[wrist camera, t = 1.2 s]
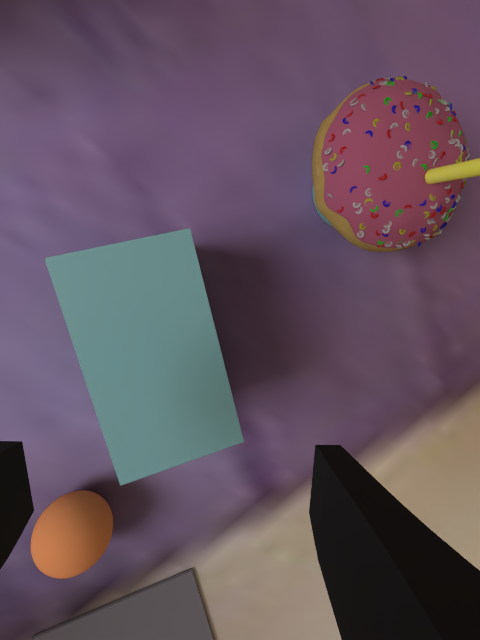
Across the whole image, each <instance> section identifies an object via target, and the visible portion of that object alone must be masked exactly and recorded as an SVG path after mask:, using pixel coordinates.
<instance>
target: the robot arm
mask: <svg viewBox="0 0 480 640" xmlns="http://www.w3.org/2000/svg"><path fill="white" fill-rule="evenodd" d="M33 511H34V507H33V502H32V496H31V490H30V484H29V479H28V473H27V467H26V462H25V456H24V450H23V444H22V442H14V441H0V569H1V567H2V566H3V564H4V563H5V561H6V560H7V558H8V557H9V555H10V553H11V552H12V550H13V548H14V546H15V545H16V543H17V541H18V539H19V538H20V536H21V534H22V532H23V530H24V528H25V526H26V525H27V523H28V521H29V519H30V517H31V515H32V513H33ZM309 514H310V520H311V525H312V530H313V536H314V541H315V546H316V551H317V556H318V560H319V564H320V567H321V571H322V574H323V578H324V581H325V585H326V588H327V591H328V595H329V598H330V602H331V605H332V608H333V612H334V615H335V618H336V622H337V625H338V629H339V632H340V635H341V639H342V640H480V571H479V570H478V569H477V568H476V567H474V566H473V565H472V564H471V563H469V562H468V561H467V560H466V559H465V558H463V557H462V556H461V555H460V554H459V553H458V552H456V551H455V550H454V549H453V548H452V547H450V546H449V545H448V544H447V543H446V542H444V541H443V540H442V539H441V538H440V537H439V536H437V535H436V534H435V533H434V532H433V531H431V530H430V529H429V528H428V527H427V526H426V525H425V524H424V523H422V522H421V521H420V520H419V519H418V518H417V517H416V516H415V515H413V514H412V513H411V512H410V511H409V510H408V509H407V508H406V507H405V506H403V505H402V504H401V503H400V502H399V501H398V500H397V499H396V498H395V497H394V496H393V495H392V494H391V493H389V492H388V491H387V490H386V489H385V488H384V487H383V486H382V485H381V484H380V483H379V482H378V481H377V480H376V479H375V478H374V477H373V476H372V475H371V474H370V473H369V472H367V471H366V470H365V469H364V468H363V467H362V466H361V465H360V464H359V463H358V462H357V461H356V460H355V459H354V458H353V457H352V456H351V455H350V454H349V453H348V452H347V451H346V450H345V449H344V448H343V447H341V446H340V445H315V456H314V467H313V477H312V488H311V499H310V509H309Z"/></svg>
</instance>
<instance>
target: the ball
mask: <svg viewBox="0 0 480 640" xmlns="http://www.w3.org/2000/svg"><path fill="white" fill-rule="evenodd" d="M112 531H113V515H112V511H111V509H110V506H109V505H108V503H107V502H106V500H105V499H104V498H103V497H101V496H100V495H98V494H96V493H94V492H91V491H84V490H82V491H74V492H70V493H67V494H65V495H63V496H61V497H59V498H58V499H56V500H55V501H54V502H52V503H51V504H50V505H49V506H48V507H47V508H46V509H45V510H44V512H43V513H42V514H41V516H40V517H39V519H38V521H37V523H36V525H35V527H34V530H33V533H32V537H31V554H32V558H33V561H34V563H35V564H36V566H37V567H38V569H39V570H40V571H41V572H43V573H44V574H46V575H48V576H50V577H53V578H59V579H63V578H70V577H73V576H76V575H79V574H81V573H83V572H84V571H86V570H88V569H89V568H90V567H92V566H93V565H94V564H95V563H96V562H97V561H98V560H99V559H100V557H101V556H102V555H103V553H104V552H105V550H106V548H107V546H108V544H109V542H110V539H111V536H112Z"/></svg>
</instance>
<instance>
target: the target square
mask: <svg viewBox="0 0 480 640" xmlns="http://www.w3.org/2000/svg"><path fill="white" fill-rule="evenodd" d="M32 640H214V639H213V635H212V632H211V629H210V626H209V622H208V619H207V616H206V613H205V609H204V606H203V603H202V599H201V596H200V593H199V590H198V586H197V583H196V580H195V577H194V573H193V570H192V568H191V569H189V570H187V571H184V572H182V573H179V574H177V575H175V576H172V577H170V578H168V579H165V580H163V581H161V582H158V583H156V584H154V585H151V586H149V587H147V588H144V589H142V590H140V591H137V592H135V593H132V594H130V595H128V596H125V597H123V598H121V599H118V600H116V601H114V602H111V603H109V604H107V605H104V606H102V607H100V608H97V609H95V610H93V611H90V612H88V613H85V614H83V615H81V616H78V617H76V618H74V619H71V620H69V621H67V622H64V623H62V624H60V625H57V626H55V627H53V628H50V629H48V630H46V631H43V632H41V633H38V634H36V635H34V636H33V639H32Z"/></svg>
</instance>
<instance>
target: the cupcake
mask: <svg viewBox="0 0 480 640" xmlns="http://www.w3.org/2000/svg"><path fill="white" fill-rule="evenodd" d="M389 78H390V79H389ZM404 78H405V79H404ZM451 109H452V104H451V103H447V101H446V100H444V99H443V98H442V97H441V95H440V94H439V93H438V92H437V90H436V88H435V87H434V86H431V87H430V86H429V85H428V83H427V82H425V85H424V84H421V83H418V82H415V81H412V80H408V79H407V77H406V76H405V77H397V78H392V76H389V77H387V78H386V79H383V78H381V79H377V80H376V81H374V82H371V81H370V83H367V84H365V85H363V86H361V87H359V88H357V89H356V90H354V91H353V92H352V93H351V94H350V95H348V96H347V97H346V98H345V99H344V100H343V101H342V102H341V103H340V104H339V105H338V106H337V108H336V109H335V110H334V111H333V112H332V113H331V114H330V115H329V116H328V117H327V118H326V119H325V120H324V121H323V122H322V124H321V125H320V128H319V130H318V132H317V135H316V138H315V142H314V148H313V156H312V172H313V201H314V205H315V207H316V210H317V212H318V214H319V215H320V217H321V218H322V219H323V220H324V221H325V222H326V223H327V224H329V225H330V226H332V227H334V228H335V229H336V230H337V231H338V232H339V233H340V234H341V235H342V236H343V237H344V238H345V239H347V240H348V241H349V242H350V243H352V244H354V245H355V246H357V247H359V248H361V249H364V250H368V251H374V252H387V251H396V250H401V249H405V248H408V247H412V246H415V245H417V246H419V245H420V244H421V243H422V242H424V241H426V240H430V238H433V237H434V235H436V234H440V233H442V230H439V229H441V228H443V227H444V226H446V224H447V221H449V220H450V218H451V216H452V215H453V211H454V209H455V208H456V207H457V205H456V204H457V202H458V201H459V200H460V198H461V197H460V193H461V190H462V189H463V186H464V185H465V184H466V180H465V179H466V178H469V177H475V176H480V158H478V159H474V160H469V161H468V157H469V155H470V154H468V156H467V153H468V146H466V139H465V137H464V133H463V130H462V128H461V125H460V123H459V122H458V120H457V118H456V117H455V115H456V114H455V111H452V110H451ZM447 219H448V220H447ZM444 223H445V224H444ZM437 231H439V232H437Z"/></svg>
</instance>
